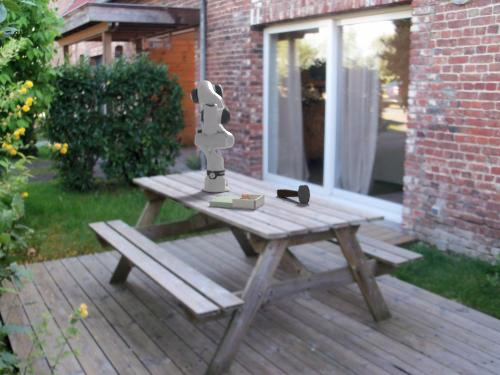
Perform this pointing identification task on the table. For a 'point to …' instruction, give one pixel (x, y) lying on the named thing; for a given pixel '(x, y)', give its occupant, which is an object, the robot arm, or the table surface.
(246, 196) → the tile
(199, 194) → the table surface
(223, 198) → the board
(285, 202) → the table surface
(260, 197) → the tray
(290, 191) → the hammer
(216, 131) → the robot arm
